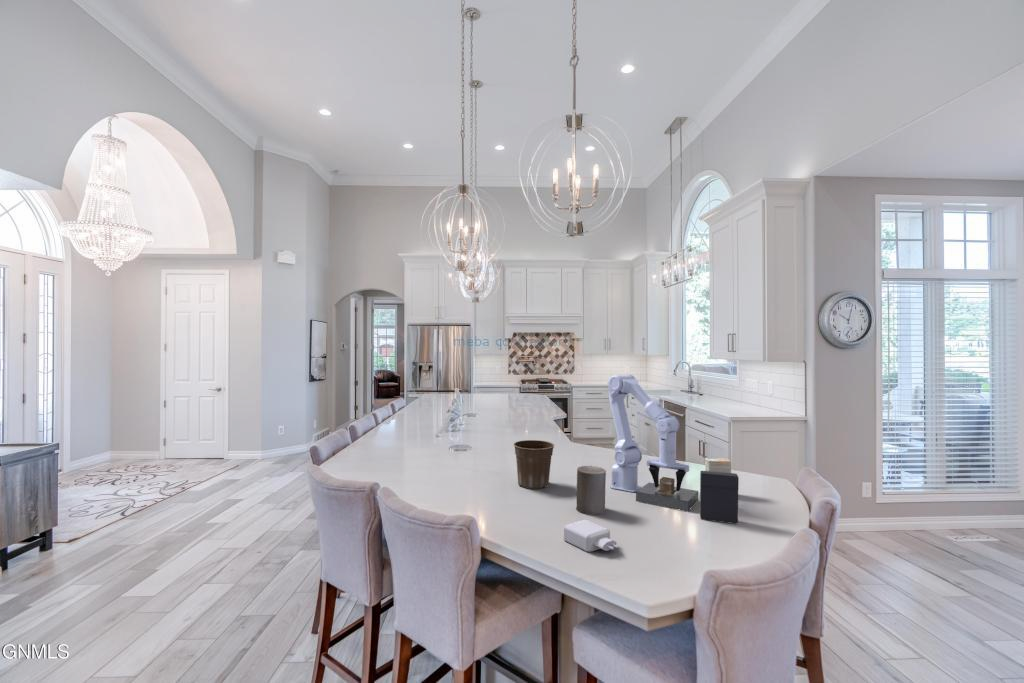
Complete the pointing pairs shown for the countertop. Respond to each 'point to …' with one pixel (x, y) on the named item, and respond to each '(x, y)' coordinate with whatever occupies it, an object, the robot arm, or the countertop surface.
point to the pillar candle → (591, 490)
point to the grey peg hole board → (667, 497)
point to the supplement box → (718, 465)
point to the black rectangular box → (719, 496)
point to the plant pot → (533, 463)
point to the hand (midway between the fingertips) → (667, 488)
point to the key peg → (667, 485)
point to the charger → (588, 536)
